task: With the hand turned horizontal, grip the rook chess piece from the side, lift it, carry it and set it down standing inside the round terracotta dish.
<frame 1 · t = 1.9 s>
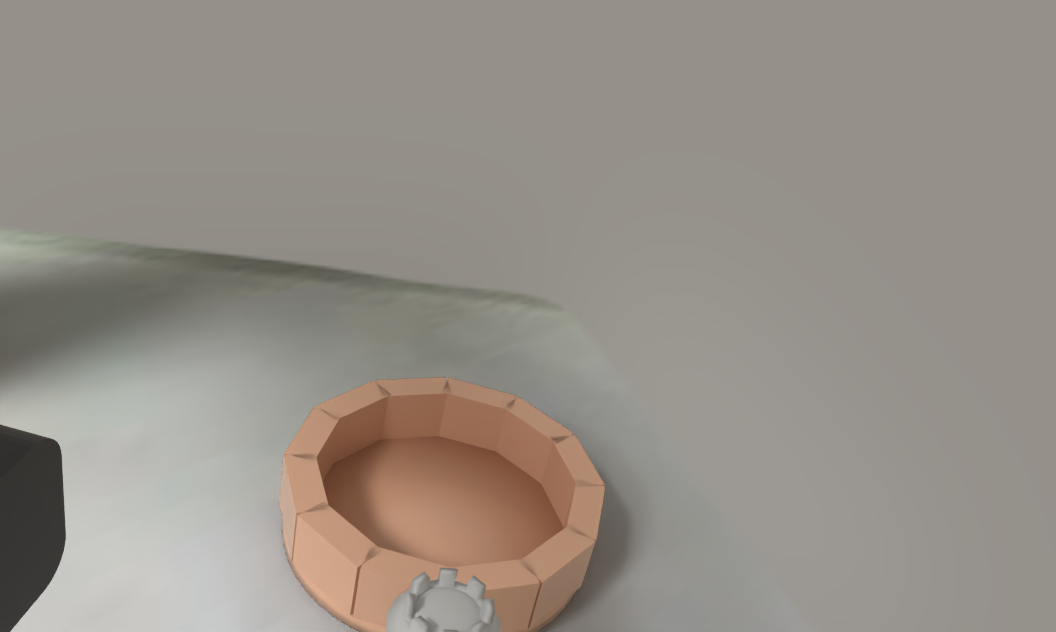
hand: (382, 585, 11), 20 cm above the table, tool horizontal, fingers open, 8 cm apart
dish: (436, 530, 40), on the table
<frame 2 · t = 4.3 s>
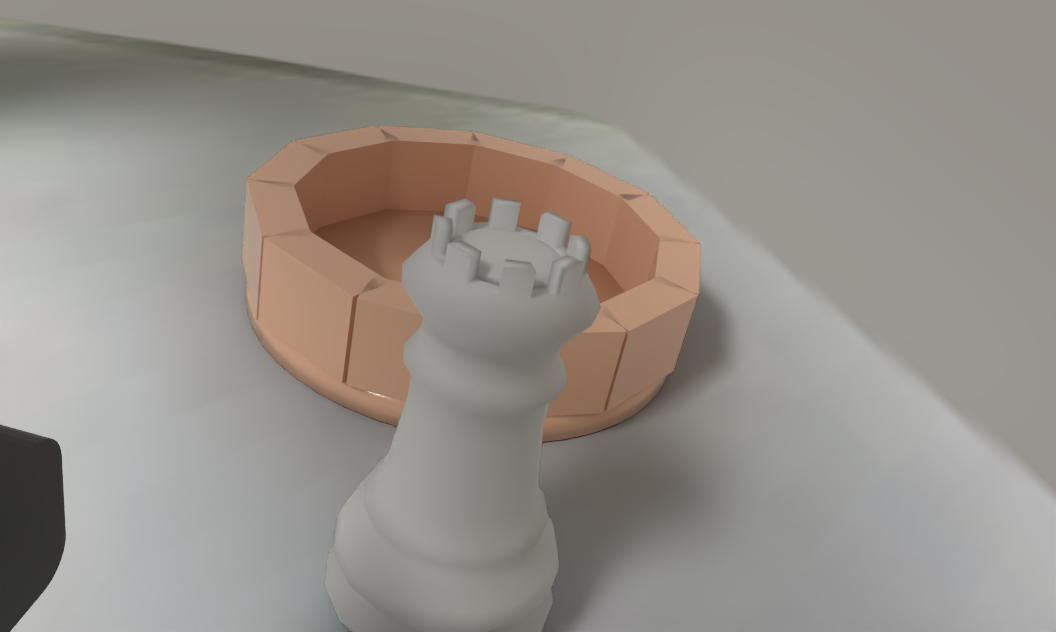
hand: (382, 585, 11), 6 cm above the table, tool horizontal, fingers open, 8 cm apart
rook chess piece: (435, 602, 19), on the table
dish: (464, 310, 29), on the table
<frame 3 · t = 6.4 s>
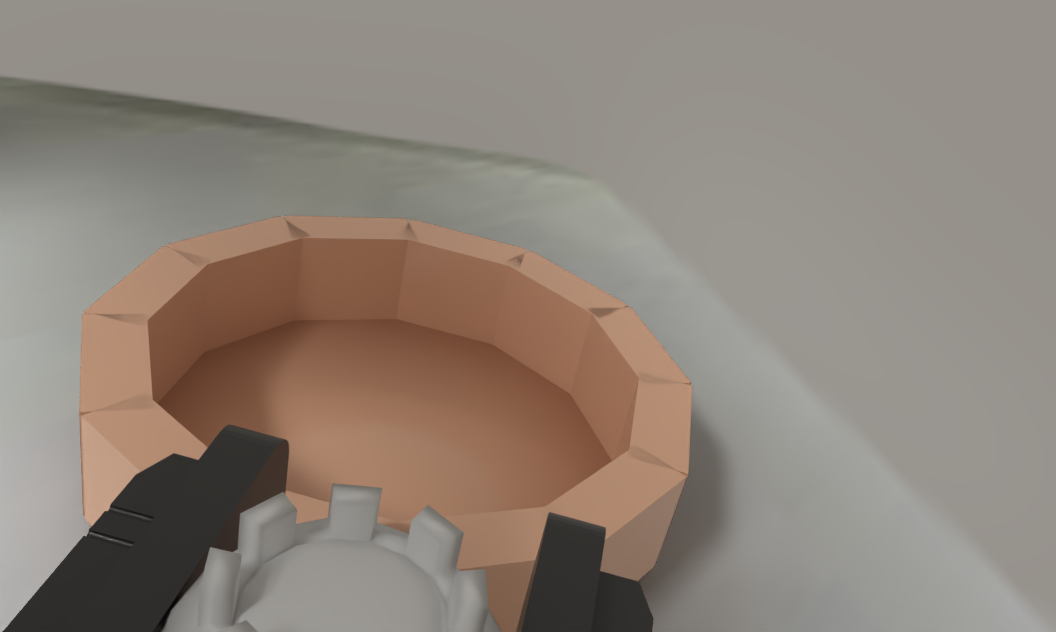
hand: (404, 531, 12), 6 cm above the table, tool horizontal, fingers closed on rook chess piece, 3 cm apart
dish: (385, 467, 22), on the table
when the fingers open (8 cm above the table, at t = 11.4 s): rook chess piece stays where it is, resting on dish.
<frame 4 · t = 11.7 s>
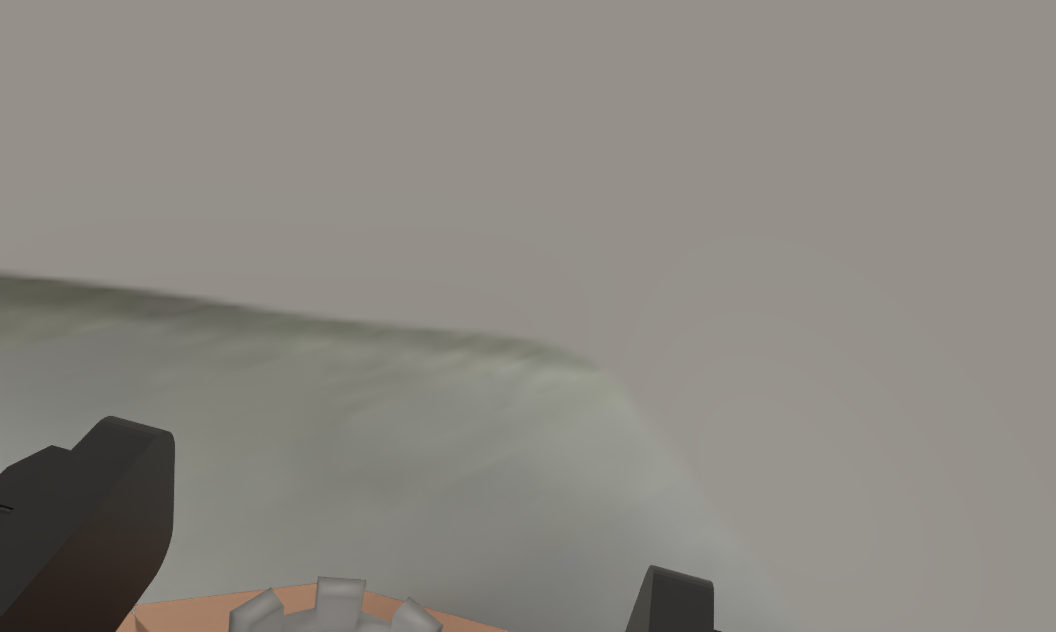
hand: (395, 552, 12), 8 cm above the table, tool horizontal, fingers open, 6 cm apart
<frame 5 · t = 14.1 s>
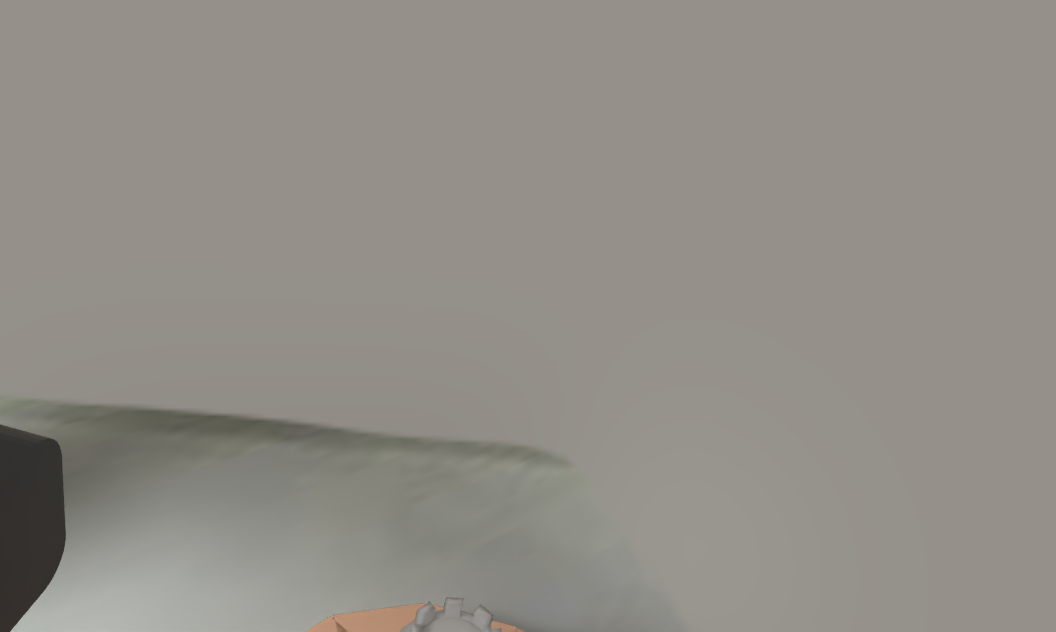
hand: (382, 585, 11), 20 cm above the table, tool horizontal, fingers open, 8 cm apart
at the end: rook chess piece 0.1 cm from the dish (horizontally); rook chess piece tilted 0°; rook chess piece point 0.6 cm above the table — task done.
